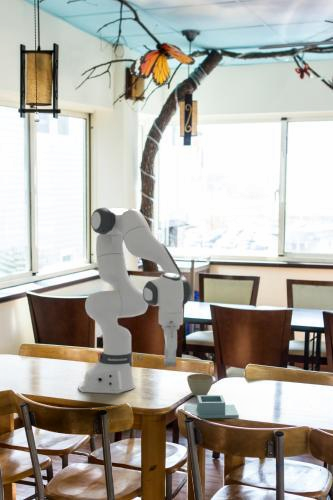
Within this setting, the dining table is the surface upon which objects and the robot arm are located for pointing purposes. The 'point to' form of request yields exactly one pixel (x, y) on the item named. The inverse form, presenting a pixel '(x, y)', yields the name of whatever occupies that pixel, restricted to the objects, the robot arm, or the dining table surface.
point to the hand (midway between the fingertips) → (170, 356)
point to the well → (212, 407)
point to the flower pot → (199, 383)
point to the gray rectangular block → (169, 360)
